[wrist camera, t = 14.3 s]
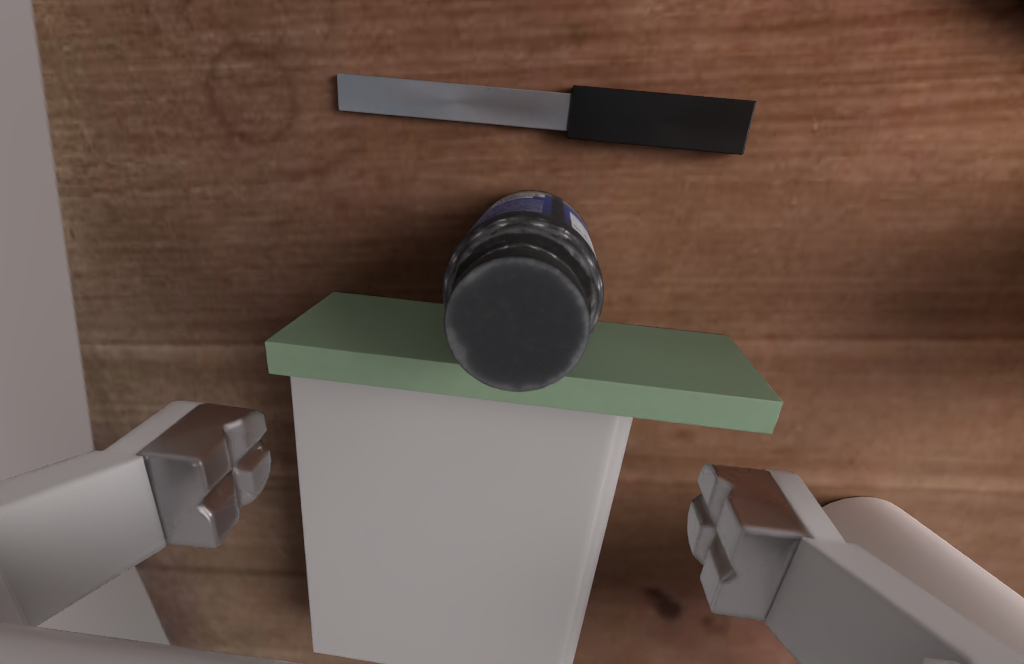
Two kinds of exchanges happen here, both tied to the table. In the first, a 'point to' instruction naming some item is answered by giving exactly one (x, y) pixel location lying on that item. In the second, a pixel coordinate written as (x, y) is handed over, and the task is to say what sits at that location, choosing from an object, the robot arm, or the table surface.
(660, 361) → the green board
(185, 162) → the table surface
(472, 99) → the table knife
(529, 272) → the pill bottle
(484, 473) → the white rectangular block
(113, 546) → the robot arm
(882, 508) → the cup
